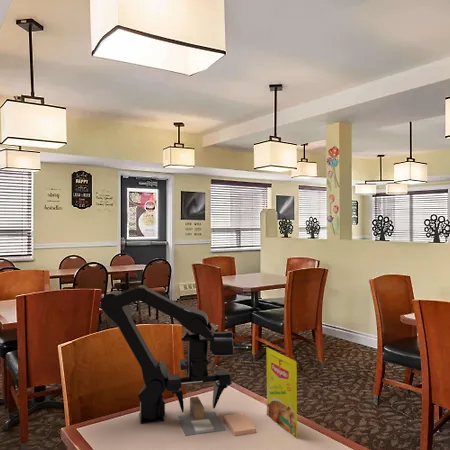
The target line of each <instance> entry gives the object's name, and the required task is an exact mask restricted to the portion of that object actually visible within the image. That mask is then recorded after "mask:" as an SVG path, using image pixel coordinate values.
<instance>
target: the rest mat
mask: <svg viewBox="0 0 450 450" xmlns="http://www.w3.org/2000/svg"><path fill="white" fill-rule="evenodd" d="M204 419H209V420H210V422H211V424H212V426H213V427H214V431H207V432H200V433H196V432H195V430H194V428H193V426H192V424H191V421H195V420H194V418H193V416H192V414H191V413H190V414H185V415H178V421H179V422H180V426H181V427H182V430H183V433H184V436H186V437H189V436H195V435H202V434H210V433H217V432H223V431H224V432H225V431H226V430H227V429H226V428H225V426H224V425H223V423H222V421H221V419H220V418H219V417H218V414H217V413H216V411H209V412H204Z"/></svg>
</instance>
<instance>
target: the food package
mask: <svg viewBox="0 0 450 450" xmlns="http://www.w3.org/2000/svg"><path fill="white" fill-rule="evenodd" d="M265 352H266V416H268V417H269V418H270V419H271V420H272V421H274V423H276V424H277V425H279V426H280V427H281V428H282V429H284V431H286V432H287V433H289V434H290V435H292V436H293V437H294V438H295V439H298V398H297V396H298V393H297V391H298V390H297V389H298V387H297V385H298V382H297V380H298V377H297V376H298V375H297V374H298V373H297V371H298V368H297V360H294V359H291V358H290V357H288V356H286V355H284V354H281V353H279V352H277V351H276V350H274V349H272V348H269V347H268V346H266V351H265Z"/></svg>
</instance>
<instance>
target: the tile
mask: <svg viewBox="0 0 450 450" xmlns="http://www.w3.org/2000/svg"><path fill="white" fill-rule="evenodd" d="M223 420H224V421H225V423H226V425H227V426H228V428H229V429H230V430H231V432H232V434H233V436H235V437H236V436H242V435H250V434H255V433H257V428H256V427H255V425H254V423H252V421H251V420H250V419H249V418H248V416H247V414H246V413H245V412H241V413H235V414H227V415H224V416H223Z"/></svg>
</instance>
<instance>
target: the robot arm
mask: <svg viewBox="0 0 450 450" xmlns="http://www.w3.org/2000/svg"><path fill="white" fill-rule="evenodd" d="M136 302H142V303H144V304H145V305H147V306H149V307H152V308H153V309H155V310H157V311H159V312H162V313H163V314H165V315H167V316H169V317H171V318H172V319H175V321H177V322H178V323H179V324H180V325H181V326H182V327H183V328H185V329H186V330H187V331H186V332H185V334H183V335H182V337H181V341H182V342H188V343H187V345H188V347H187V350H188V351H187V353H188V354H187V355H188V356H187V359H186V358H179V371H185V374H186V377H180V374H179V373H175V374H170V372H171V370H170V369H169V368H168V367H167V366H166V363H165V360H164V359H162V360H160V361H158V360H157V359H156V358H155V357H154V355H153V354H152V352H151V349H150V348H149V346H148V344H147V343H146V341H145V339H144V338H143V336H142V334H141V332H140V330H139V328H138V327H137V325H136V324H135V322H134V320H133V317H132V316H131V309H130V305H131V304H133V303H136ZM99 306H100V308H101V310H102V311H103V312H104V314H105V315H106V316H107V317H108V319H110V320H111V321H112V322H113V323H114V324H116V326H117V327H118V329H119V331H120V332H121V335H122V336H123V338H124V339H125V341H126V343H127V345H128V347H129V349H130V350H131V352H132V354H133V356H134V358H135V359H136V361H137V363H138V365H139V366H140V368H141V375H142V380H143V382H144V385H143V387H142V388H141V390H140V392H139V393H138V395H137V397H138V400H139V415H138V416H139V420H140V424H141V425H142V424H150V423H151V424H152V423H159V422H163V421H165V418H164V417H165V416H166V401H165V399H164V396H163V393H165V391H167V392H170V393H171V394H173V395H176V396H175V397H176V398H177V401H178V404H179V407H180V410H181V411H180V412H182V413H185V412H184V410H185V408H184V407H185V406H184V395H183V389H182V386H184V385H193V384H205V383H211V382H212V384H213V391H212V408H213V409H216V407H217V405H218V402H219V399H220V397H221V395H222V393H223V392H224V390H225V389H227V388H228V386H230V385H232V384H233V383H232V382H233V379H232V375H231V374H230V372H229V371H228V370H227V369H216V370H215V369H214V371H213V374H209V363H210V362H209V352H210V353H211V355H213V356H214V357H234V339H233V338H234V337H233V335H234V334H233V331H231V330H228V331H216V330H215V328H214V327H213V326H212V324H211V323H210V322H209V317H208V314H207V313H206V312H205V311H204V310H201V309H197V308H195V307H190V306H185V305H183V304H180V303H178V302H176V301H174V300H173V299H170V298H169V297H166V296H164V295H163V294H161V293H158V292H157V291H155V290H152V289H150V288H149V287H148V286H147V285H144V284H140V285H138V286H136V287H133V288H131V289H127V290H123V291H121V290H114V291H110V292H108V293H106V294H105V295H104V296H102V298H101V300H100V303H99Z"/></svg>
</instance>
